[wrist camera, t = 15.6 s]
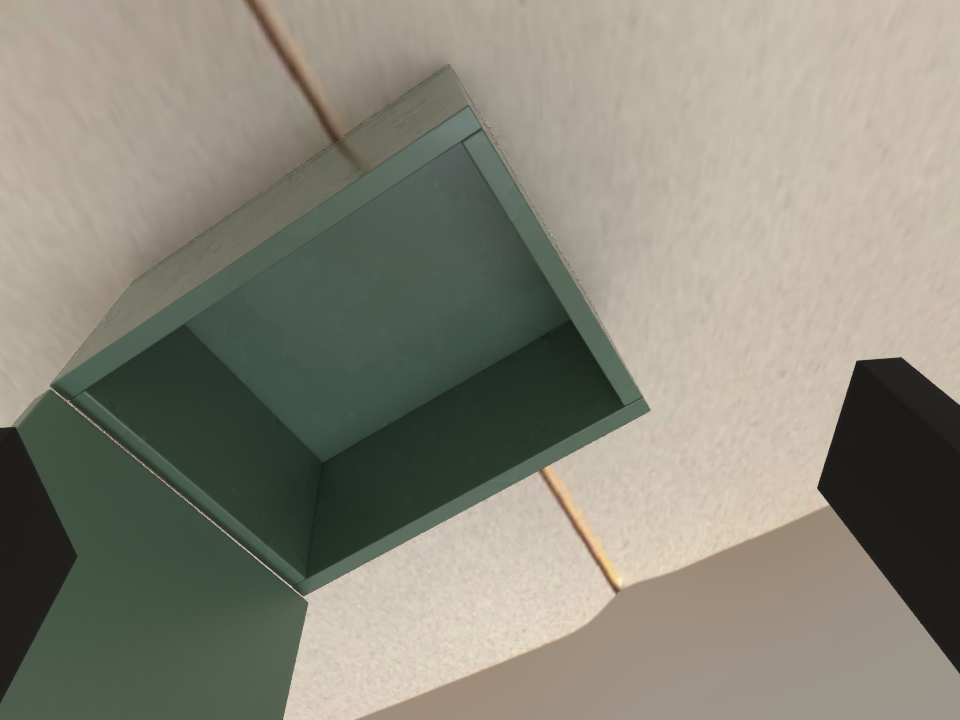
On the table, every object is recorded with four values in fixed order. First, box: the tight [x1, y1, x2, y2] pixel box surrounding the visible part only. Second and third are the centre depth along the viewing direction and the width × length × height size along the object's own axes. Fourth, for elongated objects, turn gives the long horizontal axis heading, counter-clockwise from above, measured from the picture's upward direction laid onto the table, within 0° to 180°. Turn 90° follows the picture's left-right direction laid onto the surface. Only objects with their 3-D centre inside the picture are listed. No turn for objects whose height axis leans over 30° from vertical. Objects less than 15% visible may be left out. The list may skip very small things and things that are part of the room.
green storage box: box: [50, 64, 650, 596], centre depth 33 cm, size 19×15×10 cm
